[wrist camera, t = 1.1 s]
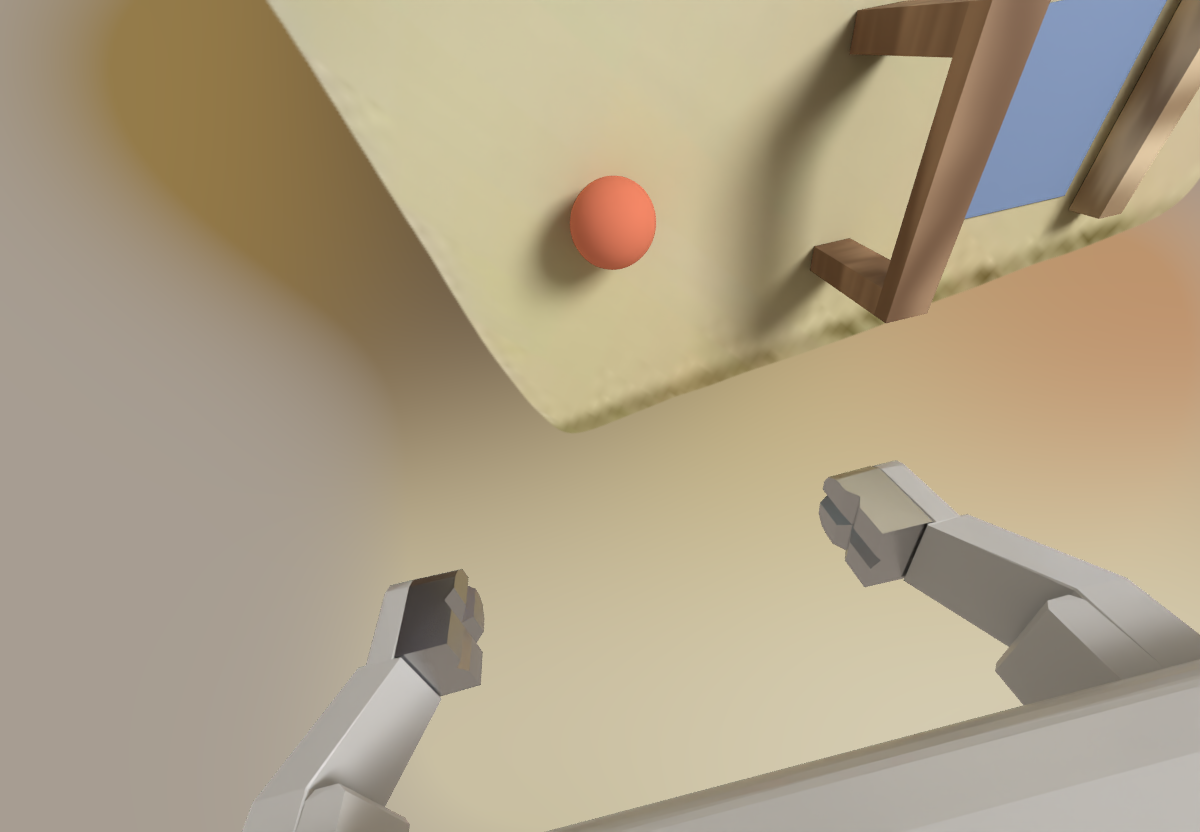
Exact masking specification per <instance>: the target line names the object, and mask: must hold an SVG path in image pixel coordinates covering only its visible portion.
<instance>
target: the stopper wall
mask: <svg viewBox="0 0 1200 832" xmlns="http://www.w3.org/2000/svg"><path fill="white" fill-rule="evenodd" d="M1199 87H1200V0H1182V1H1181V3H1180V5H1179V6H1178V8H1177V10H1176V12H1175V14H1174V16H1173V18H1172V19H1171V21H1170V23H1169V25H1168V27H1167V29H1166V30H1165V32H1164V34H1163V36H1162V38H1161V40H1160V42H1159V43H1158V45H1157V47H1156V49H1155V51H1154V53H1153V55H1152V56H1151V58H1150V60H1149V62H1148V64H1147V66H1146V67H1145V69H1144V71H1143V73H1142V75H1141V77H1140V79H1139V80H1138V82H1137V84H1136V86H1135V88H1134V90H1133V92H1132V93H1131V95H1130V97H1129V99H1128V101H1127V103H1126V104H1125V106H1124V108H1123V110H1122V112H1121V114H1120V116H1119V117H1118V119H1117V121H1116V123H1115V125H1114V127H1113V128H1112V130H1111V132H1110V134H1109V136H1108V138H1107V140H1106V141H1105V143H1104V145H1103V147H1102V149H1101V151H1100V153H1099V154H1098V156H1097V158H1096V160H1095V162H1094V164H1093V165H1092V167H1091V169H1090V171H1089V173H1088V175H1087V177H1086V178H1085V180H1084V182H1083V184H1082V186H1081V188H1080V190H1079V191H1078V193H1077V195H1076V197H1075V199H1074V201H1073V202H1072V204H1071V206H1070V208H1069V210H1070V211H1074V212H1077V213H1081V214H1084V215H1088V216H1091V217H1095V218H1098V219H1100V218H1104V217H1108V216H1113V215H1117V214H1121V213H1122V211H1123V210H1124V208H1125V206H1126V205H1127V203H1128V202H1129V200H1130V198H1131V197H1132V195H1133V194H1134V192H1135V190H1136V189H1137V187H1138V185H1139V184H1140V182H1141V181H1142V179H1143V177H1144V176H1145V174H1146V173H1147V171H1148V169H1149V168H1150V166H1151V164H1152V163H1153V161H1154V160H1155V158H1156V156H1157V155H1158V153H1159V152H1160V150H1161V148H1162V147H1163V145H1164V144H1165V142H1166V140H1167V139H1168V137H1169V135H1170V134H1171V132H1172V131H1173V129H1174V127H1175V126H1176V124H1177V123H1178V121H1179V119H1180V118H1181V116H1182V114H1183V113H1184V111H1185V110H1186V108H1187V106H1188V105H1189V103H1190V102H1191V100H1192V98H1193V97H1194V95H1195V94H1196V92H1197V90H1198V89H1199Z"/></svg>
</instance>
